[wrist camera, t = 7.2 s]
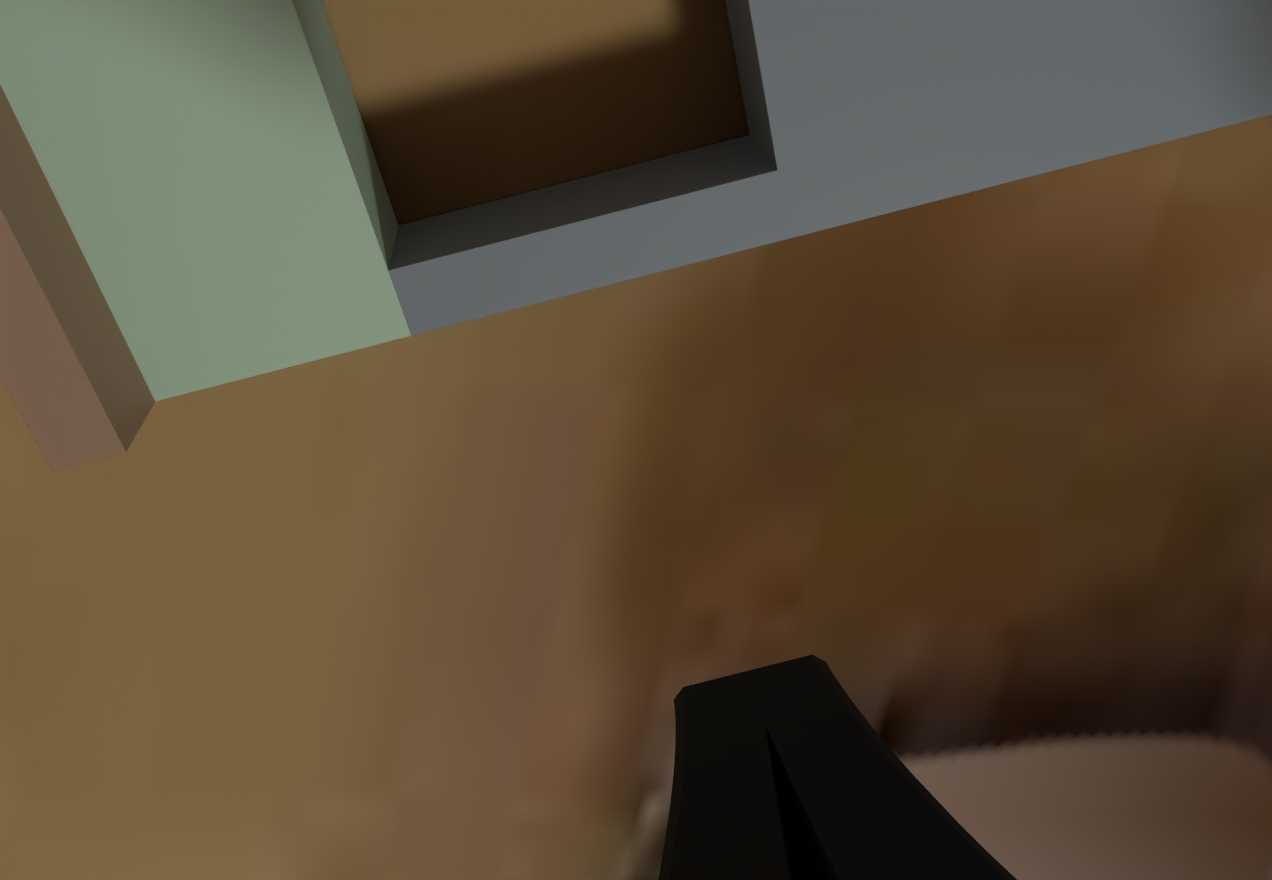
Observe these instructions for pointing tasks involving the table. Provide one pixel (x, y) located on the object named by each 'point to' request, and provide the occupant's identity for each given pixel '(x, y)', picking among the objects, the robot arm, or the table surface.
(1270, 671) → the table surface
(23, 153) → the board
